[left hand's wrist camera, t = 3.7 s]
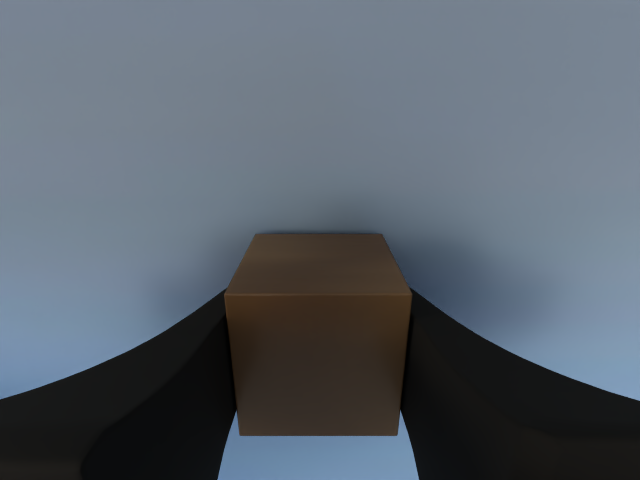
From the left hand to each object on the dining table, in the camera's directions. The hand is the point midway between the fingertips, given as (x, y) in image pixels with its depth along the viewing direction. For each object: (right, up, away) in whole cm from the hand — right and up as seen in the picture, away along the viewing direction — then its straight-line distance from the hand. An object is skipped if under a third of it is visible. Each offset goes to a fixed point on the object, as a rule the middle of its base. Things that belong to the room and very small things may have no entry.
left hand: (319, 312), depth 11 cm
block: (0, +1, +1) cm, 1 cm away
